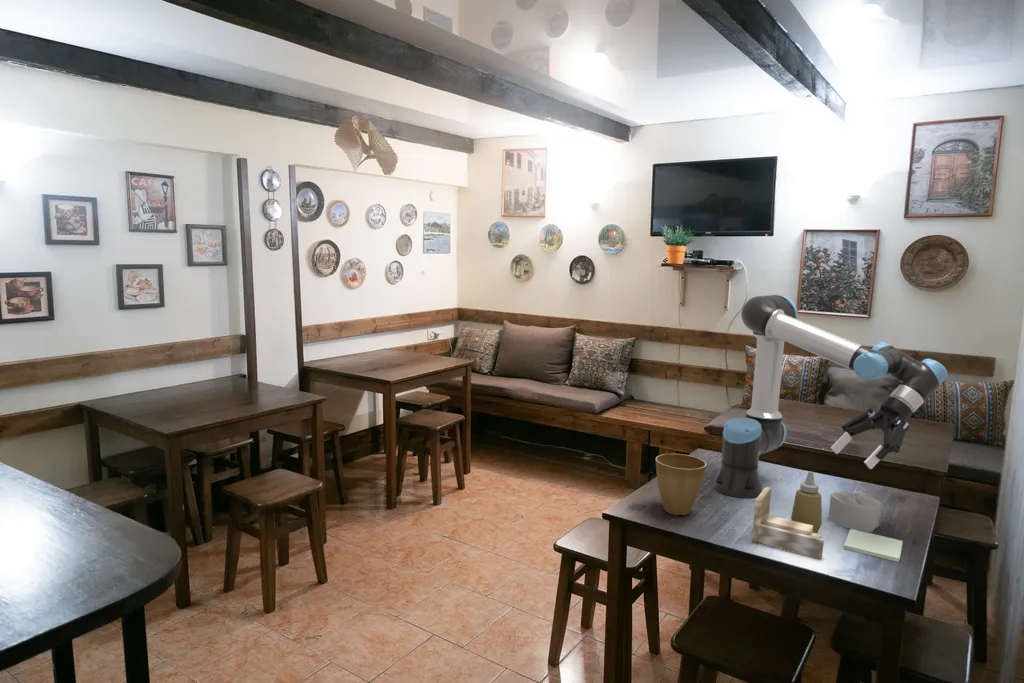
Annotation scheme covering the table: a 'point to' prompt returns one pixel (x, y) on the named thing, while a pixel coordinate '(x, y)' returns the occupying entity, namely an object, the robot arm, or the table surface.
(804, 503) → the squeeze bottle
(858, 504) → the lumpy-topped squat cylinder
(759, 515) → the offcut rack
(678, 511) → the plant pot
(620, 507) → the table surface
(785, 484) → the table surface
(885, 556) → the sage mat
